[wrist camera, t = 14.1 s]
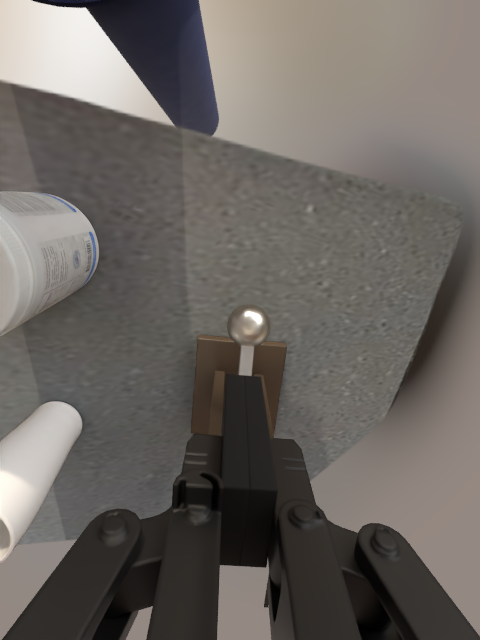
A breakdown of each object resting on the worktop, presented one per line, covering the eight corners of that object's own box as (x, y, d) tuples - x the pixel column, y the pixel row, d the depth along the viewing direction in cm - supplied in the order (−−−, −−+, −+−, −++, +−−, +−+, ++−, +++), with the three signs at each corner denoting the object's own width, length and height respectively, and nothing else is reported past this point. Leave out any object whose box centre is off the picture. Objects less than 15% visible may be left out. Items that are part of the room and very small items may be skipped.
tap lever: (228, 305, 33) (229, 299, 29) (269, 309, 33) (275, 303, 29) (214, 461, 31) (213, 474, 28) (256, 464, 31) (261, 477, 28)
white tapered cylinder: (48, 454, 42) (-47, 582, 28) (16, 405, 40) (-103, 515, 26) (102, 434, 42) (32, 555, 27) (71, 383, 40) (-20, 484, 25)
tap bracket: (199, 334, 38) (182, 395, 26) (285, 342, 39) (309, 406, 26) (191, 427, 42) (174, 519, 29) (271, 433, 42) (287, 527, 30)
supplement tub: (-21, 233, 35) (-192, 253, 21) (53, 170, 33) (-78, 146, 19) (52, 313, 37) (-58, 379, 23) (124, 258, 36) (53, 293, 22)
